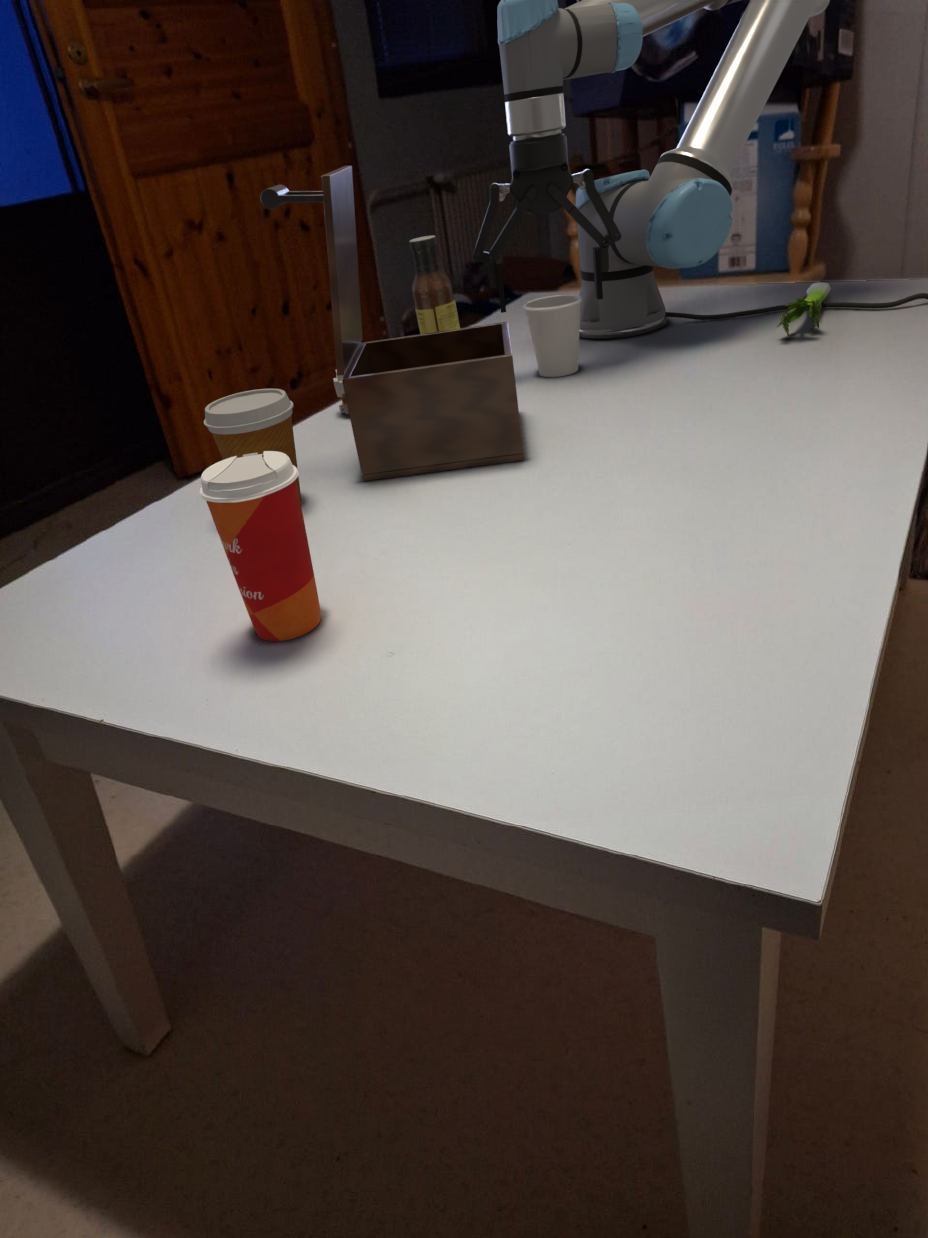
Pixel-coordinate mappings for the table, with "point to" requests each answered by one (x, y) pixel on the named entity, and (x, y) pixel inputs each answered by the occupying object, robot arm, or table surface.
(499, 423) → the chest
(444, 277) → the sauce bottle
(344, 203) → the lid
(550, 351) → the dixie cup
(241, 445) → the disposable coffee cup
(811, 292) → the leek
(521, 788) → the table surface
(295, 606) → the paper cup
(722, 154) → the robot arm
